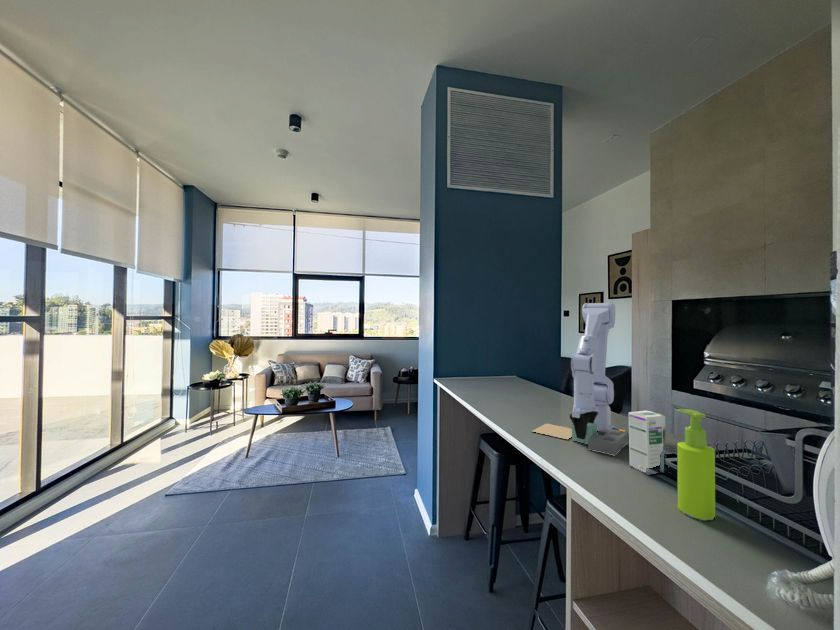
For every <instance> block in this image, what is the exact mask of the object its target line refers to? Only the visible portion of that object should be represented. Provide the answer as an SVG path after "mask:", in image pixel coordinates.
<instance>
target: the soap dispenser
mask: <svg viewBox="0 0 840 630" xmlns="http://www.w3.org/2000/svg"><path fill="white" fill-rule="evenodd" d="M676 411H677V412H678V413H684V414H686V415H689V425H688V426H685V427H684V441H680V442H678V443H677V448H676V449H677V453H676V454H677V458H676V459H677V461H676V463H677V509H678V508H679V509H680V510H681V511H683V512H685V513H687V514H690V515H692V516H694V517H697V518H702V519H711V518H714V517H715V518H716V449H714V448H713V447H711V446H709V445H707V430H706V429H704V427H702V418H703V419H704V418H706V415H707V414H705V413H702V412H701V411H698V410H695V409H691V408H689V409H688V408H678V409H677V408H676Z"/></svg>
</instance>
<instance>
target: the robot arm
mask: <svg viewBox="0 0 840 630" xmlns="http://www.w3.org/2000/svg"><path fill="white" fill-rule="evenodd" d="M581 316H582V318H583V320H584V324H585V329H584V335H582V336H581V337H580V338H579V340H578V344H577V350H576V351H575V354H574V355H572V356H571V360H570V368H571V375H572V376H571V377H572V378H573V406H572V407H573V408H572V411H571V413H570V414H569V419H570V421H571V422H572V423H573V425H574V428H575V432H576V436H577V438H580V439H585V436H586V428H587V424H588V422H589V423H594V424H597V431H599V430H600V429H601V428H608V429H614V428H615V426H614V425H612V424H611V422H612V421H611V419H612V418H611V417H612V414H611V413H612V412H611V411H612V410H611V406H609V405H611V404H612V403H613V402H614V399H615V398H614V397H615V390H614V382H613V381H612V380H611V379H610V378H609V377H607V375H606V366H607V347H608V336H609V331H610V330H611V329H614V328H615V324H616V305H615V303H613V302H612V301H611V302H599V303H598V302H594V303H593V302H592V303H591V302H590V303H589V302H585V303H583V305H582V307H581ZM613 427H614V428H613Z"/></svg>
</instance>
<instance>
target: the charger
mask: <svg viewBox="0 0 840 630" xmlns="http://www.w3.org/2000/svg"><path fill="white" fill-rule="evenodd" d="M571 429H572V438H571V441H572V440H573V441H578V442H582V443H587V444H588V438H589V437H591V436H592V435H593V434H595V435H598V432H597V424H594V423H589V422H588V424H587V428H586V436H585V439H580V438H577V436H576V432H575V428H574V425H573V422H572V423H571ZM600 436H601V435H600ZM573 441H572V442H573Z"/></svg>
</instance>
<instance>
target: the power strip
mask: <svg viewBox="0 0 840 630" xmlns="http://www.w3.org/2000/svg"><path fill="white" fill-rule="evenodd" d="M600 435H601V436H600ZM627 442H628V443H629V431H626V430H625V429H620V428H619V429H618V430H617V429H614V428H612V429H608V428H601V429H600V430H599V431H598V432H597V435H595V434H593V435H592V436H591V437H589V438H588V445H587V450H588V449H591V450H596V451H601V452H605V453H609V454H614V455H615V454H616V453H617V452H618V451H619V450H620V449H621V448H622V447H623V446H624V445H625V444H626V443H627Z"/></svg>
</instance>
